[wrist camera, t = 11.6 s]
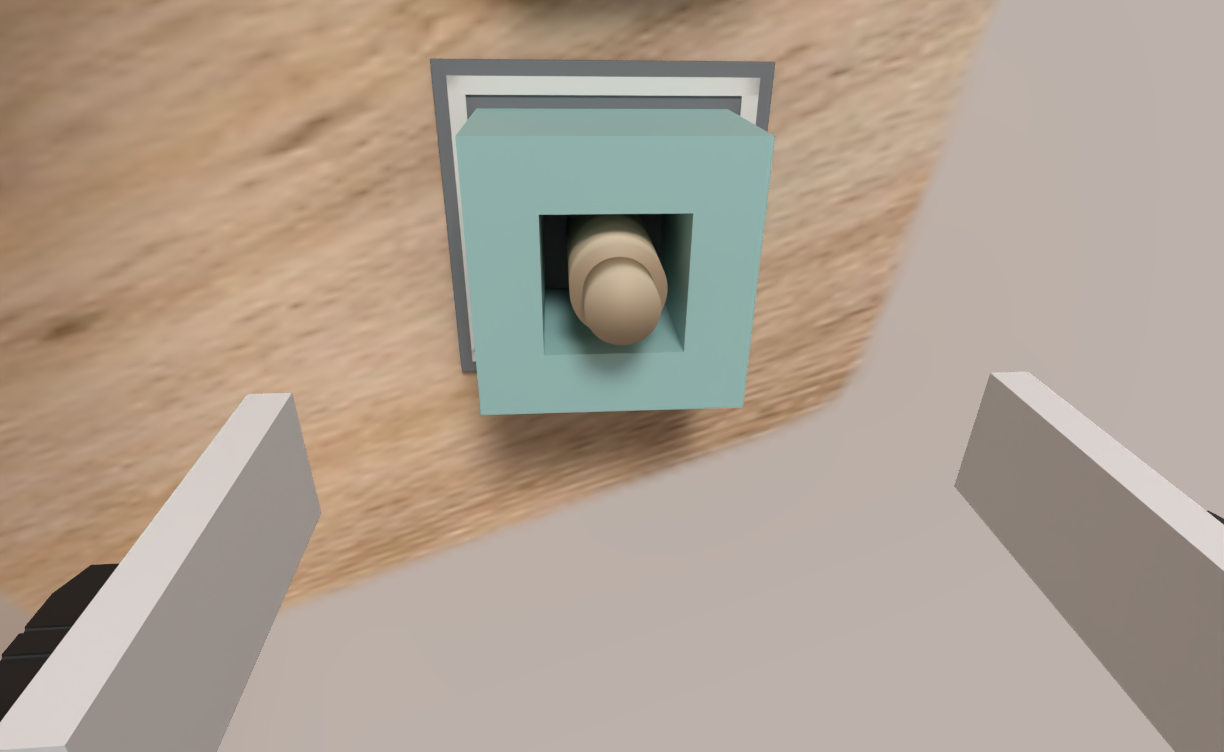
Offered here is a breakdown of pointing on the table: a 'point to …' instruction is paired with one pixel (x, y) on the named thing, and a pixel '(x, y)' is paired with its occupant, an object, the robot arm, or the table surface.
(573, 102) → the mat
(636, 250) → the post
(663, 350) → the block with square hole
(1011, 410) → the robot arm
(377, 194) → the table surface
